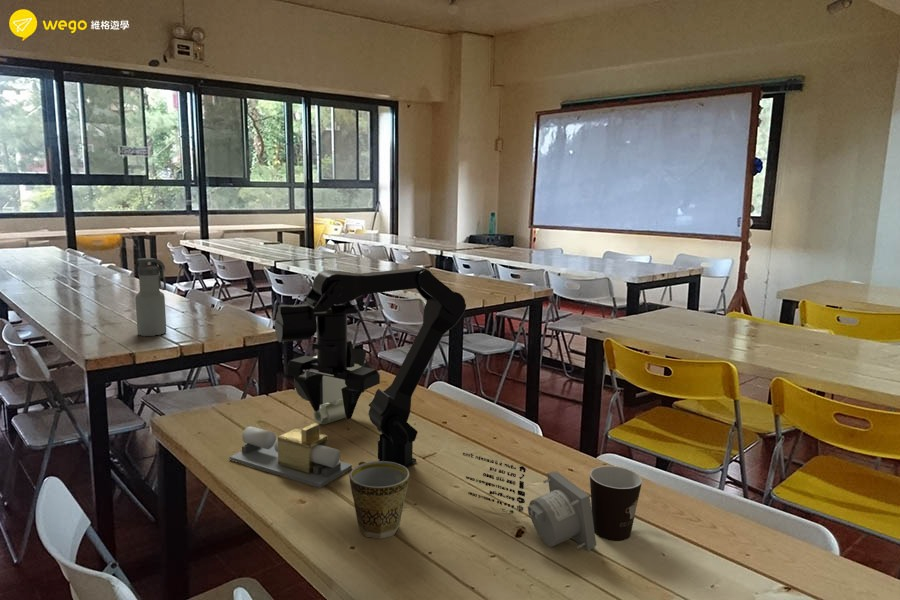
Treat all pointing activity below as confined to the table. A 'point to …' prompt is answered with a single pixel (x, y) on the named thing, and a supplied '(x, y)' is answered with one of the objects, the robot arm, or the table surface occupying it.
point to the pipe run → (265, 457)
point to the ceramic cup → (379, 496)
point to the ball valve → (330, 397)
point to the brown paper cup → (614, 501)
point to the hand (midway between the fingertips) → (332, 414)
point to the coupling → (300, 447)
